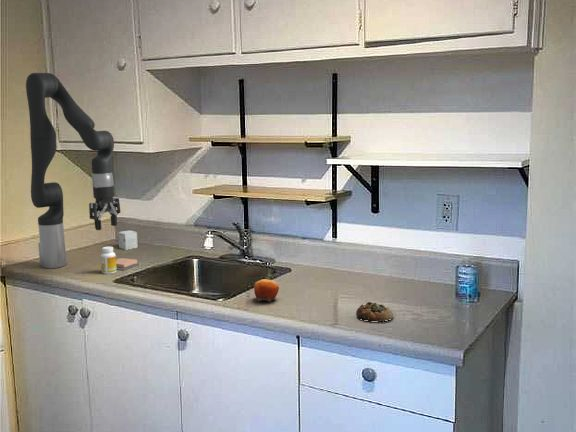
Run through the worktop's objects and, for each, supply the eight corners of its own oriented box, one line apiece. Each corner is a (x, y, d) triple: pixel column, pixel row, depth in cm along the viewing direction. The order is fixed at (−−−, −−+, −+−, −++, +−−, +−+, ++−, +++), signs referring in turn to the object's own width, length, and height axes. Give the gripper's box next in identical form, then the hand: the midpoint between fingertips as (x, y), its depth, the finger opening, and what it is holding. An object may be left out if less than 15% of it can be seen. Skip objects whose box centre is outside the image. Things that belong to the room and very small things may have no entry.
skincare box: (119, 248, 280) (117, 231, 278) (131, 245, 284) (130, 229, 282) (126, 250, 275) (124, 233, 274) (138, 247, 279) (137, 231, 278)
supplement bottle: (118, 270, 242) (117, 245, 240) (113, 274, 236) (111, 249, 235) (105, 270, 242) (103, 245, 240) (99, 274, 237) (98, 249, 235)
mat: (101, 268, 246) (101, 267, 246) (116, 262, 254) (116, 261, 254) (123, 270, 241) (123, 269, 241) (138, 264, 249) (138, 263, 249)
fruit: (250, 300, 197) (252, 276, 200) (255, 306, 204) (256, 282, 207) (276, 301, 196) (277, 276, 199) (279, 307, 203) (281, 283, 206)
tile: (121, 261, 254) (108, 266, 247) (121, 258, 254) (107, 262, 246) (137, 263, 251) (124, 268, 243) (137, 259, 250) (124, 264, 243)
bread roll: (348, 318, 184) (350, 301, 183) (366, 313, 193) (368, 297, 192) (382, 327, 177) (384, 310, 177) (399, 321, 186) (401, 304, 186)
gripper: (108, 182, 241) (111, 223, 244) (81, 187, 228) (85, 230, 231) (123, 183, 238) (126, 224, 241) (97, 187, 225) (101, 232, 228)
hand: (106, 227), depth 236 cm, fingers open, 8 cm apart
